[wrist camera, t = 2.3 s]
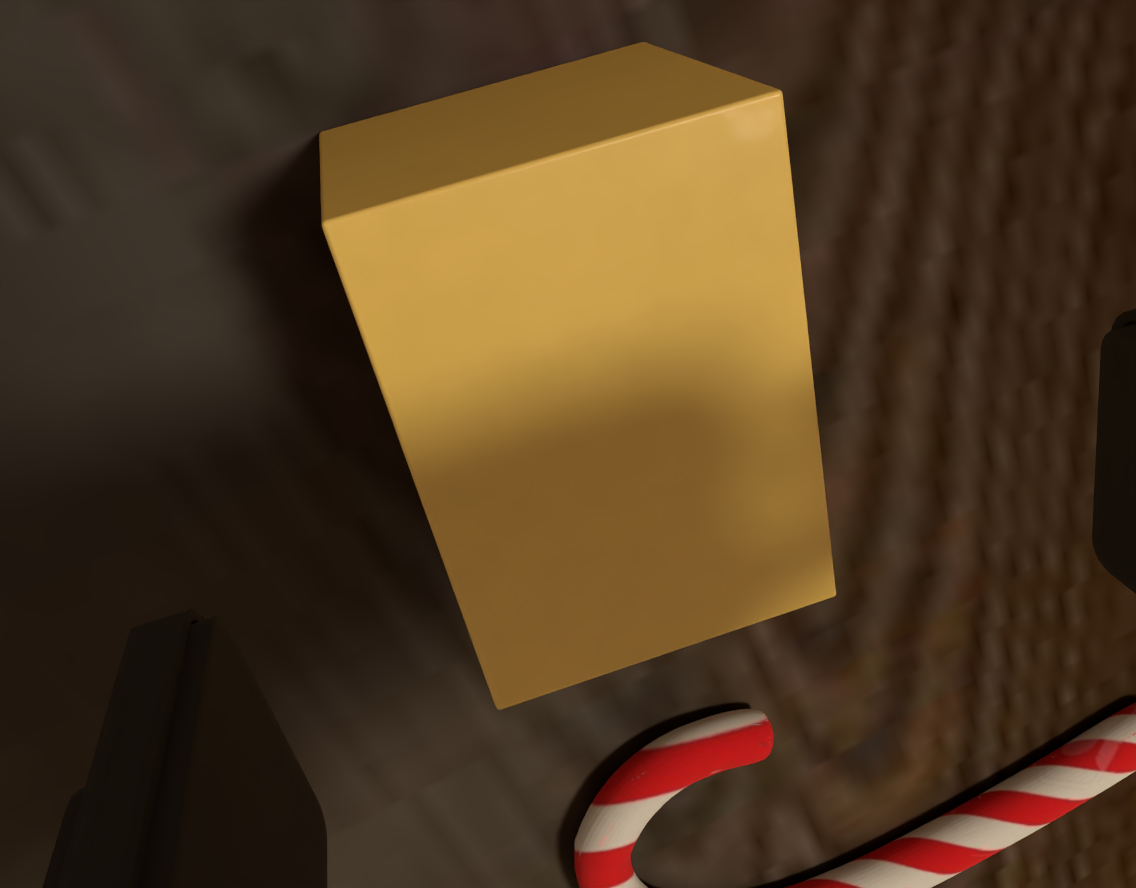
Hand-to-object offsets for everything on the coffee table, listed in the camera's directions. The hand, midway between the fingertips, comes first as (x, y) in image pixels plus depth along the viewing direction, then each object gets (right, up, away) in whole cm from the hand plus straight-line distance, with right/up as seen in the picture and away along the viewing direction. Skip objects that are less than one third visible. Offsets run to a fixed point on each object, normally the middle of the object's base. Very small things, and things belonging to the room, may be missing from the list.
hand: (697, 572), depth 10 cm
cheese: (-2, +4, +6) cm, 7 cm away
